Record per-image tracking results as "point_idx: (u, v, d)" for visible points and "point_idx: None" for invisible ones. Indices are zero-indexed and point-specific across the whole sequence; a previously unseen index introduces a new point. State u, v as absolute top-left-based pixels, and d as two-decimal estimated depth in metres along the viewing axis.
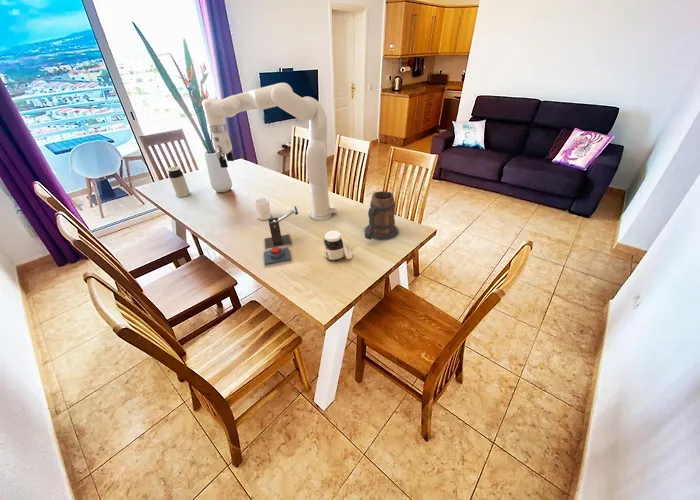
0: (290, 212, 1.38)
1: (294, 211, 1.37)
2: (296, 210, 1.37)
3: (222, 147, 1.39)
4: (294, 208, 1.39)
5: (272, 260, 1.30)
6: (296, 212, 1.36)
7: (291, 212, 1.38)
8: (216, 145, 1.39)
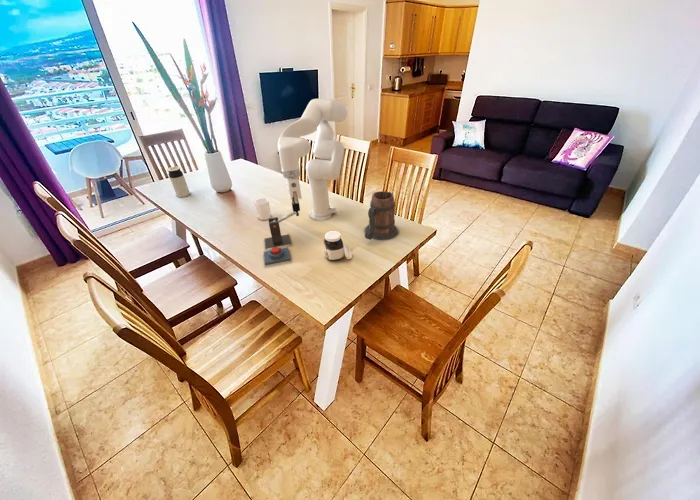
0: (291, 213, 1.38)
1: (295, 212, 1.38)
2: (297, 211, 1.37)
3: (298, 192, 1.28)
4: None
5: (272, 260, 1.30)
6: (297, 213, 1.36)
7: (292, 213, 1.38)
8: (292, 191, 1.27)
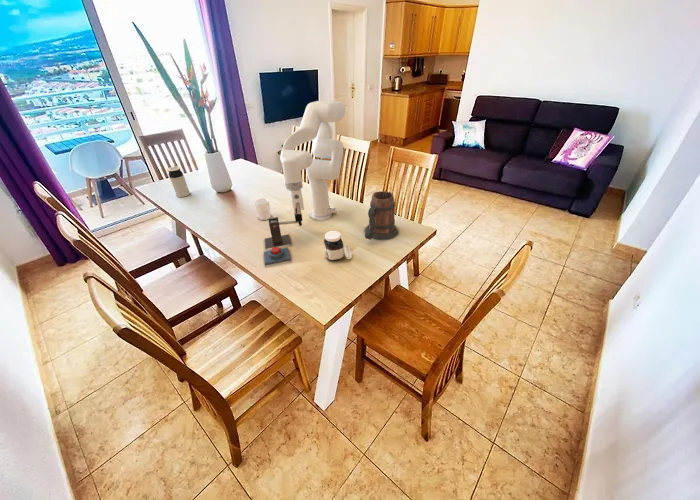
0: (294, 221, 1.41)
1: (298, 222, 1.41)
2: None
3: (301, 203, 1.32)
4: None
5: (272, 260, 1.30)
6: (300, 224, 1.40)
7: (295, 221, 1.41)
8: (295, 202, 1.31)
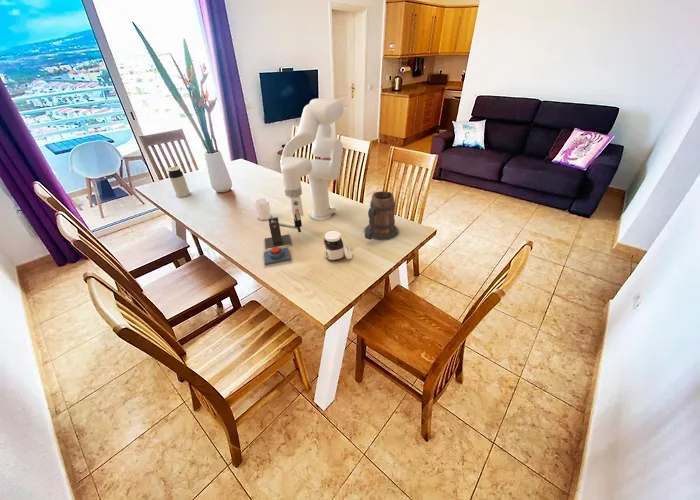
0: (293, 226, 1.43)
1: (298, 228, 1.42)
2: None
3: (300, 210, 1.33)
4: None
5: (272, 260, 1.30)
6: (300, 230, 1.41)
7: (294, 227, 1.42)
8: (294, 209, 1.32)
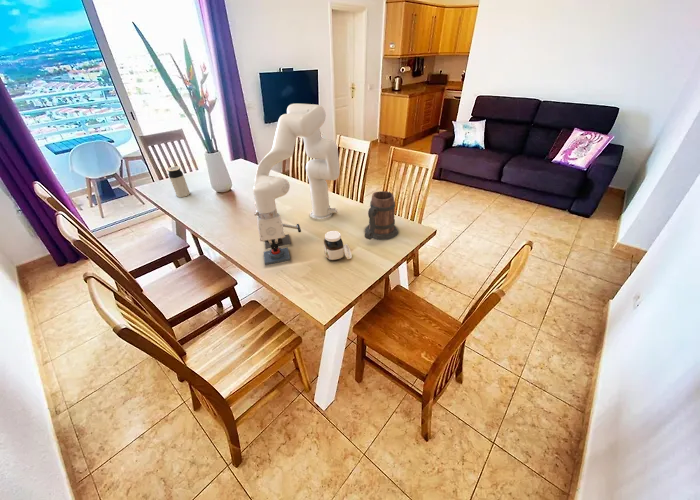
0: (293, 226, 1.43)
1: (298, 228, 1.42)
2: None
3: (259, 232, 1.23)
4: (298, 225, 1.44)
5: (272, 260, 1.30)
6: (300, 230, 1.41)
7: (294, 227, 1.42)
8: None
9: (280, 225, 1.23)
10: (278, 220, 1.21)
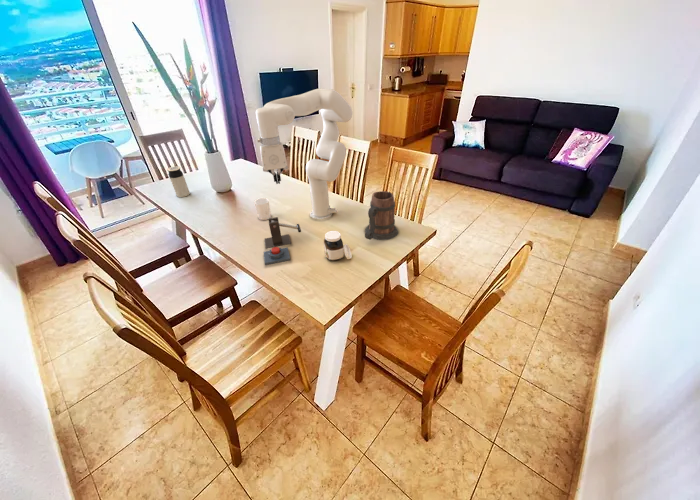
0: (293, 226, 1.43)
1: (298, 228, 1.42)
2: None
3: None
4: (298, 225, 1.44)
5: (272, 260, 1.30)
6: (300, 230, 1.41)
7: (294, 227, 1.42)
8: None
9: (283, 153, 1.24)
10: (281, 148, 1.22)
